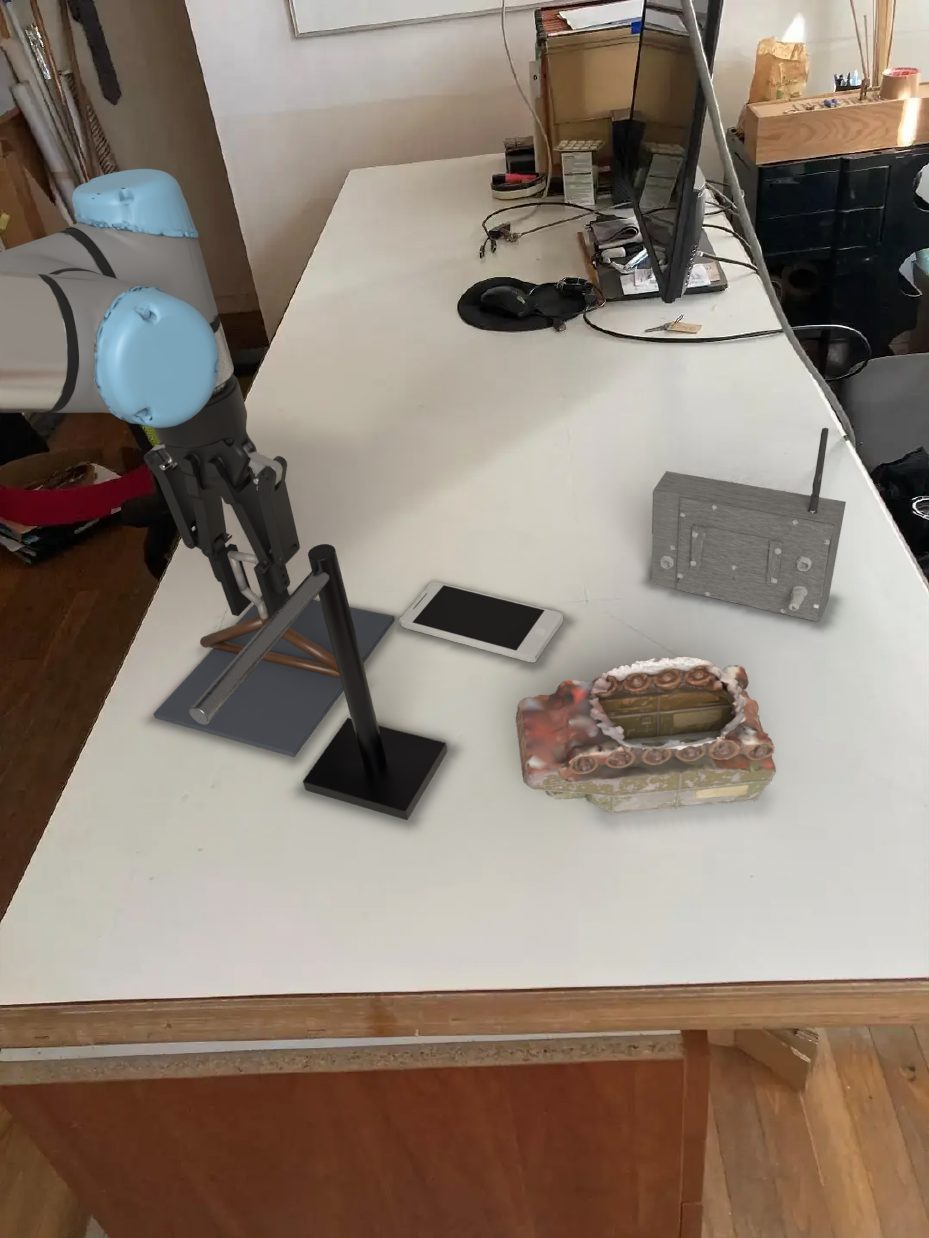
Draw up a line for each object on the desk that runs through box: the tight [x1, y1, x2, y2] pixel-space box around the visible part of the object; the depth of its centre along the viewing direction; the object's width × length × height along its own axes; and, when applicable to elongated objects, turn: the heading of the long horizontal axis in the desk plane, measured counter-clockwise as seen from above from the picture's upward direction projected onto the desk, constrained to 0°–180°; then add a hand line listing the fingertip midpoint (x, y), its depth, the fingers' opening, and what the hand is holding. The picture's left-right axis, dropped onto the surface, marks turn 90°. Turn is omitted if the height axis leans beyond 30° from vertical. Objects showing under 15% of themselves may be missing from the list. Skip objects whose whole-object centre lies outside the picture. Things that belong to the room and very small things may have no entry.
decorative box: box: [515, 656, 777, 815], centre depth 73 cm, size 13×20×10 cm, turn 86°
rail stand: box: [189, 543, 448, 821], centre depth 70 cm, size 20×10×24 cm, turn 156°
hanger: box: [199, 550, 340, 678], centre depth 89 cm, size 19×1×14 cm, turn 66°
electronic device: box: [650, 427, 847, 622], centre depth 88 cm, size 17×7×20 cm, turn 61°
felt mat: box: [153, 594, 396, 758], centre depth 93 cm, size 16×20×1 cm
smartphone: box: [399, 581, 564, 663], centre depth 95 cm, size 7×15×1 cm, turn 62°
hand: (262, 610), depth 89 cm, fingers closed on hanger, 4 cm apart
